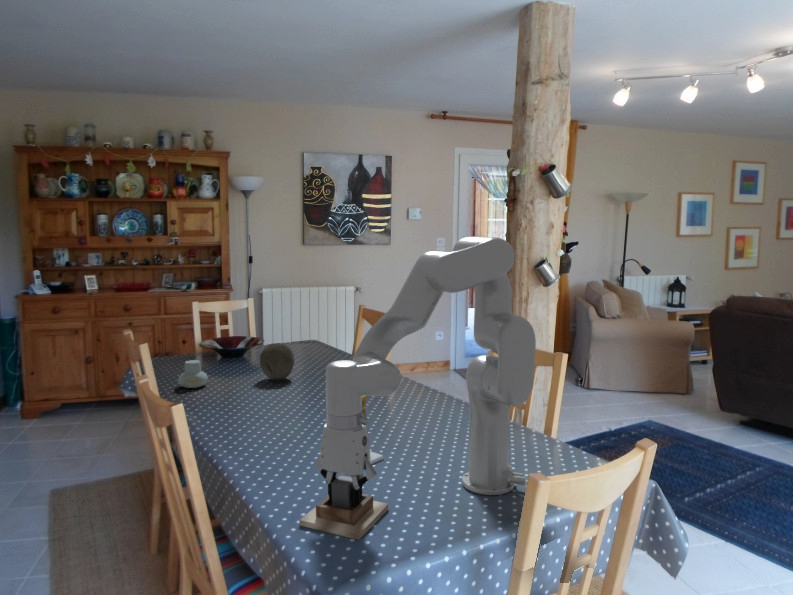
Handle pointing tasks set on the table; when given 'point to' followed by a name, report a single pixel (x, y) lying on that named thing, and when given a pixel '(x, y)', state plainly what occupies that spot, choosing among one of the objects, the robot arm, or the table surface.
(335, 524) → the end holder
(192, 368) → the air freshener
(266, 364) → the cantaloupe
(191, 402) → the table surface
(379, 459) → the external hard drive
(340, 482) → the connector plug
